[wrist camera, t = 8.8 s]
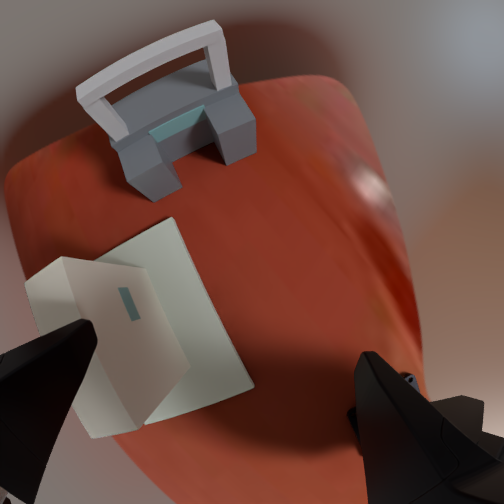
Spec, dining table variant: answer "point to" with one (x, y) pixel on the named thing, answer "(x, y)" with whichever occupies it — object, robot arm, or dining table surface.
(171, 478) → the dining table surface
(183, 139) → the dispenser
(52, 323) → the white rectangular block
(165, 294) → the mat
